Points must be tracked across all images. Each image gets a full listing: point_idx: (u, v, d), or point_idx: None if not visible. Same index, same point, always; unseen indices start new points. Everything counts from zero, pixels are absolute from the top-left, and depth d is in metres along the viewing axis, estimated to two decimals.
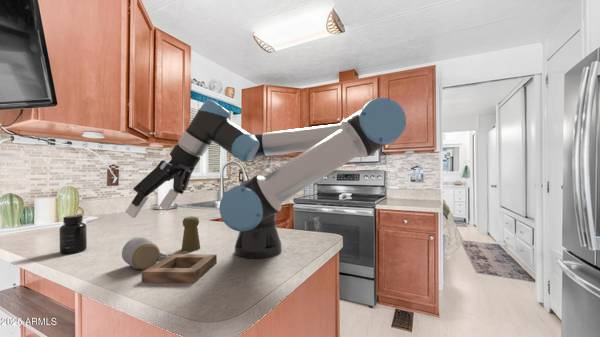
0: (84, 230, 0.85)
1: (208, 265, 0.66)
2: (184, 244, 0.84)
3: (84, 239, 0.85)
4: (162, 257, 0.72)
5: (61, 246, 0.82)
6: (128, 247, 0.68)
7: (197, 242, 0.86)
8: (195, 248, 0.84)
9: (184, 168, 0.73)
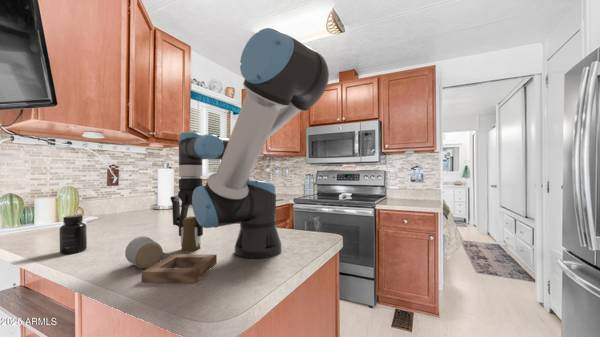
0: (84, 230, 0.85)
1: (208, 265, 0.66)
2: (184, 244, 0.84)
3: (84, 239, 0.85)
4: (165, 256, 0.72)
5: (61, 246, 0.82)
6: (131, 246, 0.69)
7: None
8: (195, 248, 0.85)
9: None
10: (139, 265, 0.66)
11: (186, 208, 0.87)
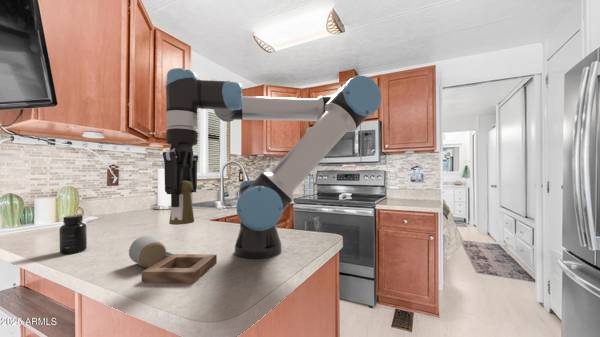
0: (84, 230, 0.85)
1: (208, 265, 0.66)
2: (189, 214, 0.65)
3: (84, 239, 0.85)
4: (168, 255, 0.73)
5: (61, 246, 0.82)
6: (135, 246, 0.70)
7: None
8: None
9: (189, 148, 0.68)
10: (143, 264, 0.67)
11: None
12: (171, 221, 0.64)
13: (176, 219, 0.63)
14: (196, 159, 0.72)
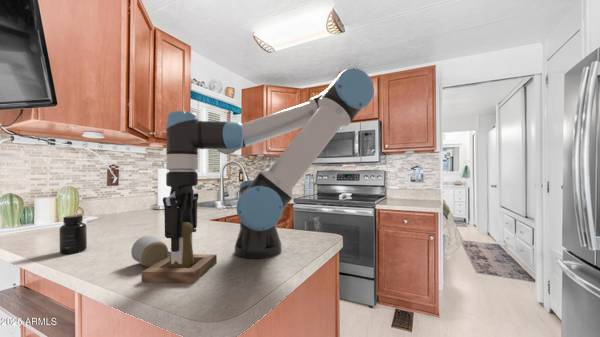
0: (84, 230, 0.85)
1: (208, 265, 0.66)
2: (189, 257, 0.65)
3: (84, 239, 0.85)
4: None
5: (61, 246, 0.82)
6: (137, 245, 0.70)
7: None
8: None
9: (189, 189, 0.68)
10: (145, 263, 0.67)
11: None
12: (171, 265, 0.63)
13: (176, 263, 0.63)
14: (196, 197, 0.72)
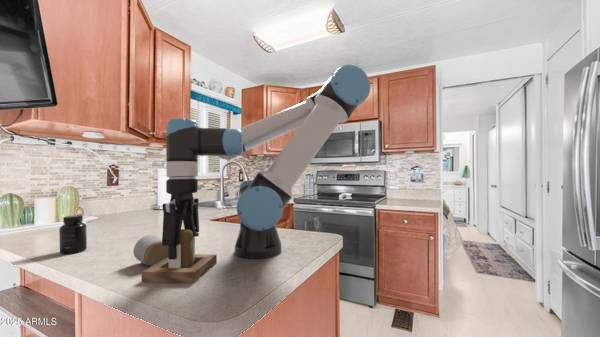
0: (84, 230, 0.85)
1: (208, 265, 0.66)
2: (189, 264, 0.65)
3: (84, 239, 0.85)
4: None
5: (61, 246, 0.82)
6: (140, 245, 0.70)
7: None
8: None
9: (189, 196, 0.68)
10: (147, 263, 0.68)
11: None
12: None
13: None
14: (197, 203, 0.72)
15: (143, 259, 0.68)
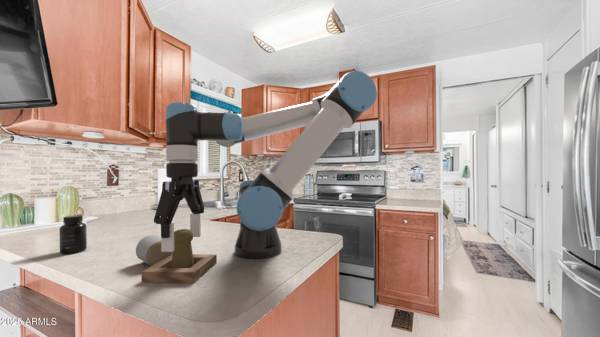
0: (84, 230, 0.85)
1: (208, 265, 0.66)
2: (189, 264, 0.65)
3: (84, 239, 0.85)
4: None
5: (61, 246, 0.82)
6: (142, 244, 0.71)
7: None
8: None
9: (189, 183, 0.68)
10: (149, 262, 0.68)
11: None
12: None
13: None
14: (197, 184, 0.72)
15: (145, 258, 0.68)
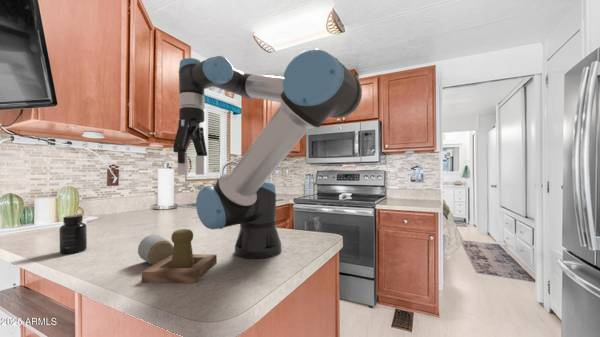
0: (84, 230, 0.85)
1: (208, 265, 0.66)
2: (189, 264, 0.65)
3: (84, 239, 0.85)
4: None
5: (61, 246, 0.82)
6: (144, 244, 0.71)
7: None
8: None
9: (197, 127, 0.83)
10: (151, 262, 0.69)
11: None
12: None
13: None
14: (202, 131, 0.87)
15: (147, 258, 0.68)
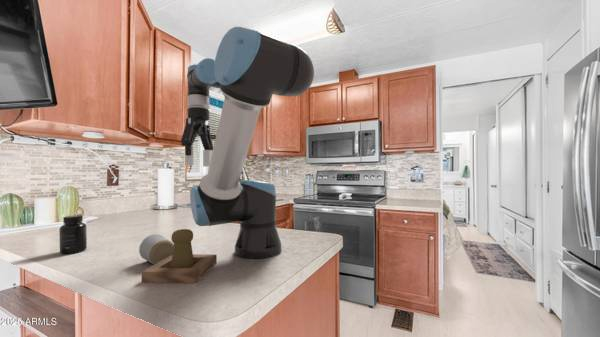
0: (84, 230, 0.85)
1: (208, 265, 0.66)
2: (189, 264, 0.65)
3: (84, 239, 0.85)
4: None
5: (61, 246, 0.82)
6: (145, 243, 0.72)
7: None
8: None
9: (203, 124, 0.95)
10: (153, 261, 0.69)
11: None
12: None
13: None
14: (208, 128, 0.99)
15: (149, 258, 0.69)
